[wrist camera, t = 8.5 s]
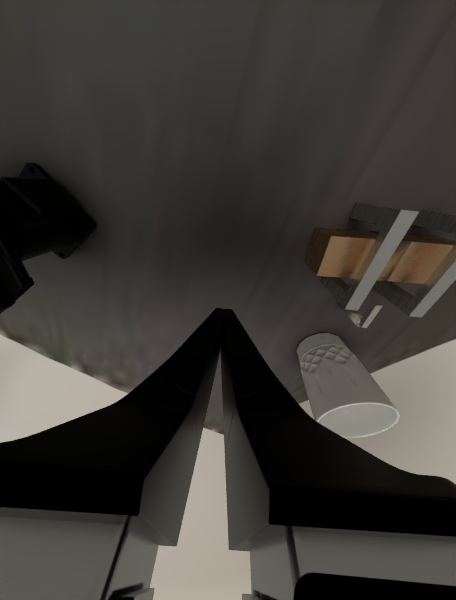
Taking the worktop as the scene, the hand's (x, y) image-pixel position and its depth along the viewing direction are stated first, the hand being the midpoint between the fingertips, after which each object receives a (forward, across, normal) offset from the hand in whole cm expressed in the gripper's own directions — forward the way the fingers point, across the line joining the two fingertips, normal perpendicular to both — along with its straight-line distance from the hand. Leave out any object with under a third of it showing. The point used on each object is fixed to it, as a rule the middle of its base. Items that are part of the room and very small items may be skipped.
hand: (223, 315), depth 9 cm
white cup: (+12, -15, +14) cm, 23 cm away
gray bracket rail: (+11, -15, 0) cm, 19 cm away
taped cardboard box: (+12, -14, -1) cm, 19 cm away
